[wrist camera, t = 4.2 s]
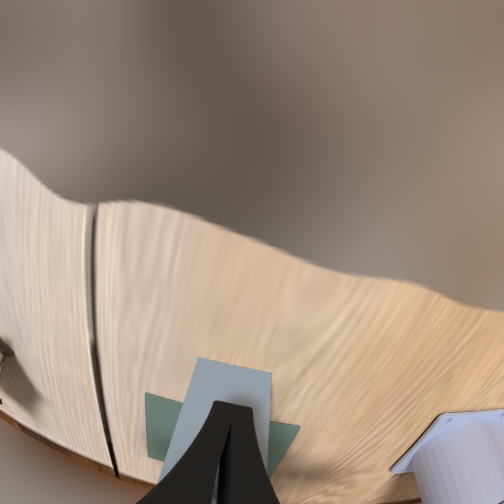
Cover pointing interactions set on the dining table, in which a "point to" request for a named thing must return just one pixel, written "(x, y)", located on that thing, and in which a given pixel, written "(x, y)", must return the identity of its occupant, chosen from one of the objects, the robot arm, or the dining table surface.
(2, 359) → the game die
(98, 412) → the dining table surface
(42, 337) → the dining table surface
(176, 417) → the felt mat
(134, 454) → the dining table surface
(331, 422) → the dining table surface
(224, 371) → the slate-blue block
